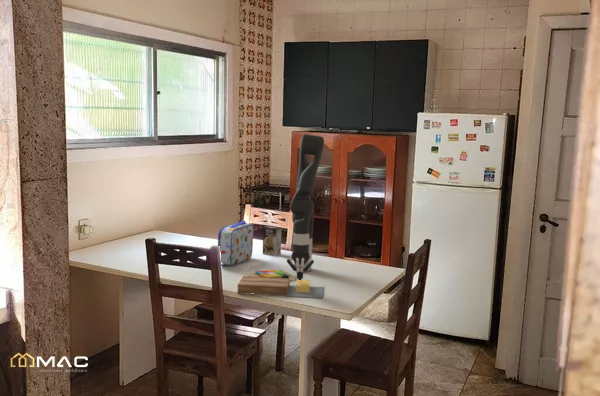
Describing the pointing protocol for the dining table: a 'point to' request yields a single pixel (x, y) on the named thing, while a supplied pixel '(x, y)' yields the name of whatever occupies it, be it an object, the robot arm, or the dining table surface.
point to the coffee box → (272, 240)
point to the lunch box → (236, 243)
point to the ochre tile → (303, 286)
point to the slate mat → (313, 293)
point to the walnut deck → (264, 285)
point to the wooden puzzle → (273, 274)
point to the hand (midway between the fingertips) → (299, 279)
